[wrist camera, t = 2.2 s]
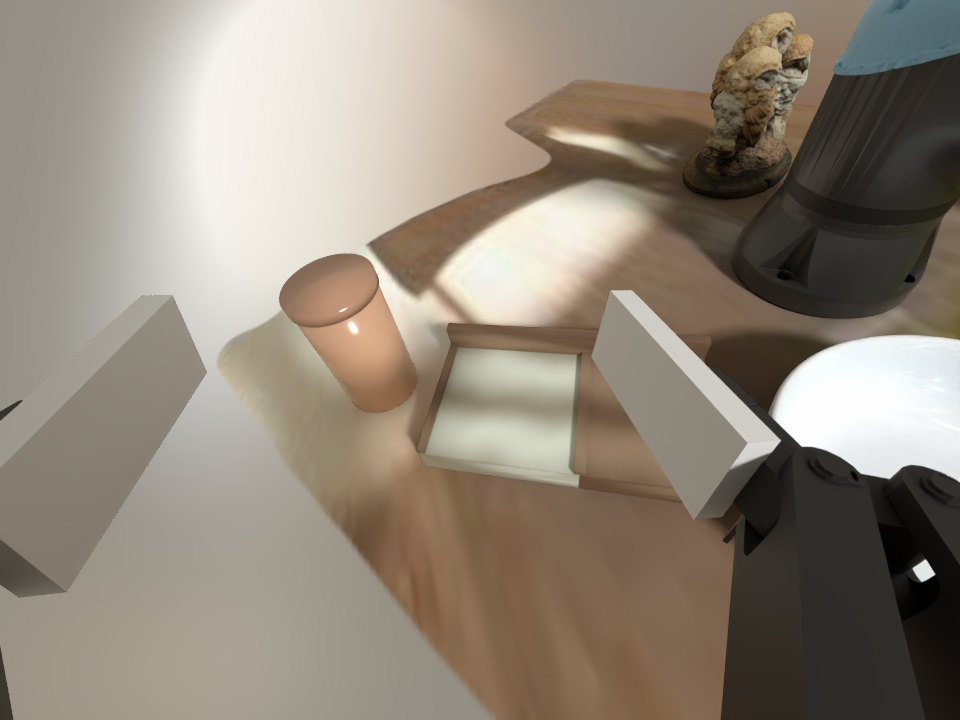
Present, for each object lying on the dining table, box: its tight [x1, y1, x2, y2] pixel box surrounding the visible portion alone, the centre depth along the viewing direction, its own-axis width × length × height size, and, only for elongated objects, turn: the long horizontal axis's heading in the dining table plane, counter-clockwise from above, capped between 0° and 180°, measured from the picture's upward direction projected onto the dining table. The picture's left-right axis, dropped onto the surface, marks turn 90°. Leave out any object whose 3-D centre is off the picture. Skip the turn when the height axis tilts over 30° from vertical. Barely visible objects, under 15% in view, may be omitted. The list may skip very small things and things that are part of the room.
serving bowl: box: [768, 335, 960, 582], centre depth 23 cm, size 21×21×7 cm
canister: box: [279, 254, 418, 412], centre depth 35 cm, size 7×7×13 cm
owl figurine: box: [683, 12, 813, 199], centre depth 48 cm, size 18×12×17 cm, turn 137°
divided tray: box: [416, 323, 712, 503], centre depth 32 cm, size 12×22×5 cm, turn 78°
